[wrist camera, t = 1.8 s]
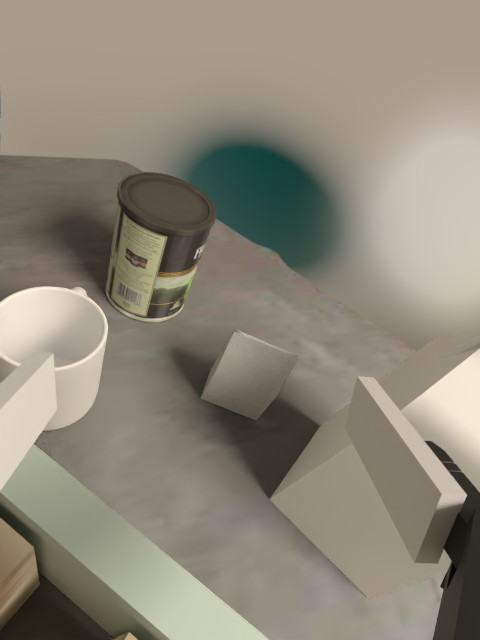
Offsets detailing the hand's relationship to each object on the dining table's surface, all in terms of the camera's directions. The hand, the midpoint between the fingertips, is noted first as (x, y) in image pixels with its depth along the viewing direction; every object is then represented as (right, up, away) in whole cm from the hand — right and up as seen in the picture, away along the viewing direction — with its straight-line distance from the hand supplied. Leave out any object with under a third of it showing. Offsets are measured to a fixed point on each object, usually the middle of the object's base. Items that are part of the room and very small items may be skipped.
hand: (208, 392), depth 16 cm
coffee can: (-11, +7, +32) cm, 34 cm away
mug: (-17, -3, +21) cm, 27 cm away
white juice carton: (0, -6, +26) cm, 27 cm away
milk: (+12, -16, +23) cm, 30 cm away
